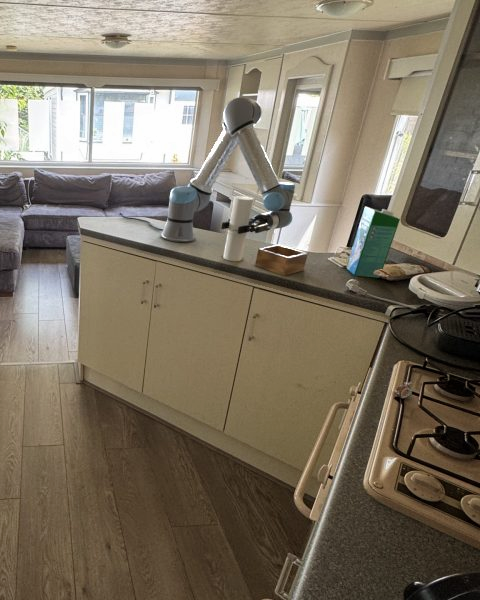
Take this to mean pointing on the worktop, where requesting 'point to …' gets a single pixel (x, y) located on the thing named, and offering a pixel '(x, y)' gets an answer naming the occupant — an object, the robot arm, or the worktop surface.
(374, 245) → the milk carton
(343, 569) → the worktop surface
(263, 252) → the holder
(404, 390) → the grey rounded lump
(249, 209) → the cylindrical container
